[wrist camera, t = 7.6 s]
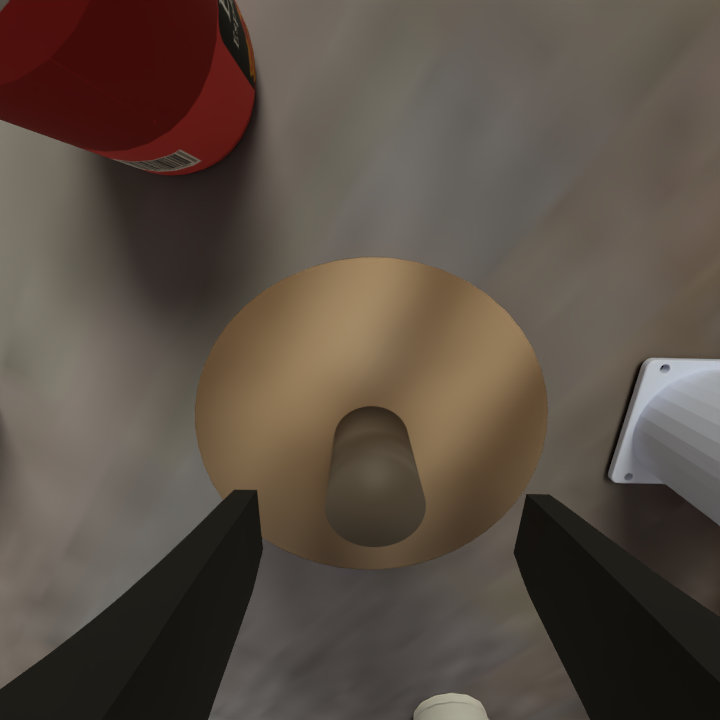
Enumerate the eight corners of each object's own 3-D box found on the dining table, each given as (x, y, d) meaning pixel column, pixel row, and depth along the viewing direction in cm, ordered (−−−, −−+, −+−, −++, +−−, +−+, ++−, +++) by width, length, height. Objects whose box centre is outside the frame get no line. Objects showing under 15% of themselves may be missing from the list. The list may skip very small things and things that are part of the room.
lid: (592, 301, 13) (718, 330, 9) (474, 571, 18) (515, 686, 13) (218, 217, 12) (131, 198, 8) (196, 526, 17) (133, 633, 12)
